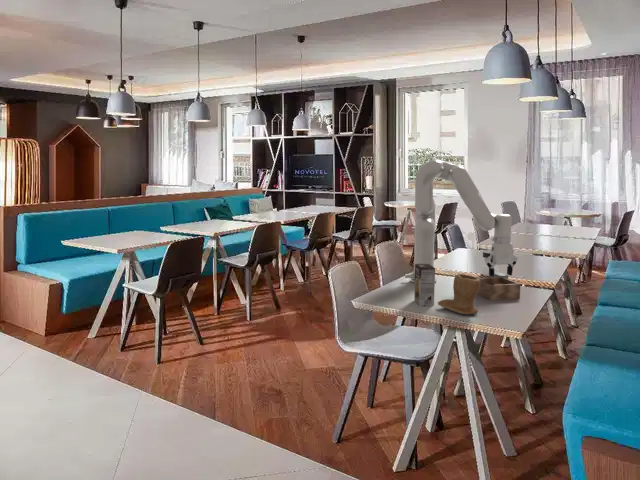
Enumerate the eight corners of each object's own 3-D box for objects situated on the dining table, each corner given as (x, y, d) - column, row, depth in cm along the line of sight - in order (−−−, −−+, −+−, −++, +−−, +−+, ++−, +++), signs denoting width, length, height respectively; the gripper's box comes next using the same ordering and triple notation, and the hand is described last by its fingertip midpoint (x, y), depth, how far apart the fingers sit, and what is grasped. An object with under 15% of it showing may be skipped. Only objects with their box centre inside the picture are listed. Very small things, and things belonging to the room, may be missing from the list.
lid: (494, 291, 250) (495, 278, 249) (477, 283, 265) (478, 271, 264) (523, 289, 254) (523, 276, 253) (504, 282, 268) (505, 270, 267)
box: (490, 301, 229) (491, 285, 228) (473, 294, 243) (474, 278, 242) (519, 299, 233) (520, 283, 231) (501, 291, 246) (502, 276, 245)
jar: (501, 275, 281) (503, 252, 280) (493, 277, 276) (494, 254, 274) (487, 272, 288) (487, 250, 286) (478, 274, 283) (478, 251, 281)
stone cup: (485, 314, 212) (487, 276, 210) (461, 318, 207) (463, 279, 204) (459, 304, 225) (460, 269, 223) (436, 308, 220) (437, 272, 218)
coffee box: (413, 300, 232) (414, 263, 230) (428, 299, 233) (429, 263, 230) (419, 306, 223) (420, 267, 221) (434, 305, 224) (435, 267, 221)
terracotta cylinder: (497, 294, 239) (497, 285, 238) (492, 292, 242) (492, 283, 242) (505, 293, 240) (505, 284, 239) (500, 291, 243) (500, 282, 243)
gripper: (490, 242, 250) (488, 278, 253) (523, 240, 254) (521, 276, 257) (481, 239, 257) (480, 274, 260) (513, 238, 262) (511, 272, 264)
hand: (500, 275), depth 258 cm, fingers open, 9 cm apart
